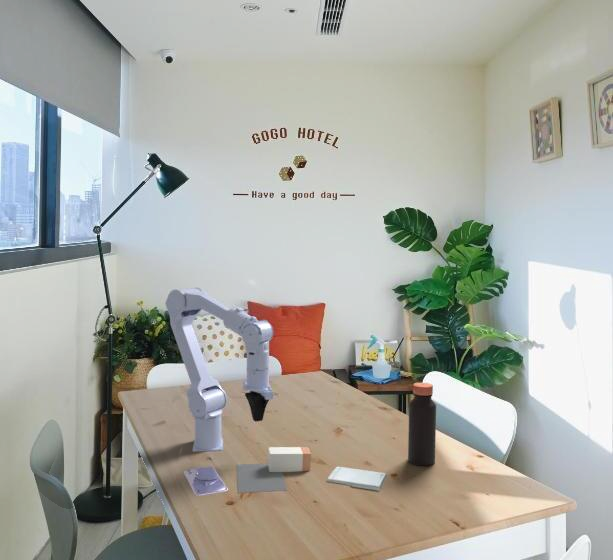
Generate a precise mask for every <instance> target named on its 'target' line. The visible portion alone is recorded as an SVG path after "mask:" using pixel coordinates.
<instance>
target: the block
mask: <svg viewBox="0 0 613 560" xmlns="http://www.w3.org/2000/svg"><path fill="white" fill-rule="evenodd" d="M267 454H268V457H267V463H268V468H269V472H283V473H289V472H290V473H291V472H293V473H294V472H309V471H310V472H311V459H312V457H311V456H312V453H311V451H310V448H309V446H286V447H285V446H284V447H283V446H282V447H281V446H279V447H278V446H276V447H275V446H271V447H269V446H268V453H267Z"/></svg>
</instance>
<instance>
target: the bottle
mask: <svg viewBox="0 0 613 560" xmlns="http://www.w3.org/2000/svg"><path fill="white" fill-rule="evenodd" d="M412 387H413V388H412V392H413V394H412V395H413V399H412V400H411V401H410V402H409V403H408V440H407V441H408V444H407V445H408V446H407V448H408V449H407V451H408V452H407V454H408V455H407V456H408V457H407V459H408V461H409V462H410V463H411V465H416V466H420V467H428V466H432V465H433V464H435V462H436V434H437V433H436V432H437V429H436V428H437V427H436V425H437V404H436V403H435V402H434V400H433V399H432V397H433V392H434V390H433V387H434V385H433V384H432V383H428V382H415V383H413V384H412Z"/></svg>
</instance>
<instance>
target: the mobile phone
mask: <svg viewBox="0 0 613 560" xmlns="http://www.w3.org/2000/svg"><path fill="white" fill-rule="evenodd" d="M183 473H184V476H185V477H186V479H187V482H188V484H189V486H190V487H191V489H192V491H193V493H194V495H195V496H205V495H211V494H218V493H224V492H226V491H228V490H229V488H228V487H227V486H226V484H225V482H224V481H223V480H222V478H221V476H220V475H219V473H218V472H217V470H216V469H215V467H213V466H206V467H198V468H193V469H187V470H185V471H183Z"/></svg>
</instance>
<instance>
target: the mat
mask: <svg viewBox="0 0 613 560" xmlns="http://www.w3.org/2000/svg"><path fill="white" fill-rule="evenodd" d="M236 479H237V481H236V482H237V493H238V494H244V493H245V494H246V493H265V492H280V491H282V492H283V491H285V492H286V491H288V488H287V484H286V480H285V476H284V472H269V468H268V462H267V463H266V462H265V463H248V464H236Z"/></svg>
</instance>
